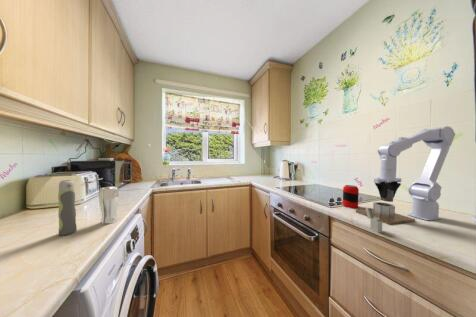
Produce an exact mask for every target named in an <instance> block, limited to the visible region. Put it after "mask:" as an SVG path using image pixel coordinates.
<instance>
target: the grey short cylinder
mask: <svg viewBox="0 0 476 317" xmlns="http://www.w3.org/2000/svg"><path fill="white" fill-rule="evenodd" d="M393 192H394V191H393V190H388V191H387V197H386V198H381V197H380V200H381V201H382V202H386V203H389V202H390V203H391V202H392V203H393V202H394V198H393Z"/></svg>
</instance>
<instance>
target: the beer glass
mask: <svg viewBox="0 0 476 317" xmlns="http://www.w3.org/2000/svg"><path fill="white" fill-rule="evenodd" d="M119 194H120V193H119V186H105V187H104V186H103V187H100V188H99V192H98V195H99V196H98V202H99V207H100V211H101V219H100V220H101V221H100V223H101V224H102V225H110V224H114V223H116V222H118V221H119V218H118V211H117V210H118V207H119V206H118V205H119V201H120V200H119V199H120V198H119V197H120V195H119Z"/></svg>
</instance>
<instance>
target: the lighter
mask: <svg viewBox="0 0 476 317" xmlns="http://www.w3.org/2000/svg"><path fill="white" fill-rule="evenodd" d="M365 209H366V212H367V216H368V217H367V216H366V217H367V218H368V219H370V221H369V222H370V225H369V228H370V230H372V231H374V232H375V233H377V234H382V233H383V222H381V221H379V218H377V217H374V215H373V211H372V209H373V207H367V208H366V207H365Z"/></svg>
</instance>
